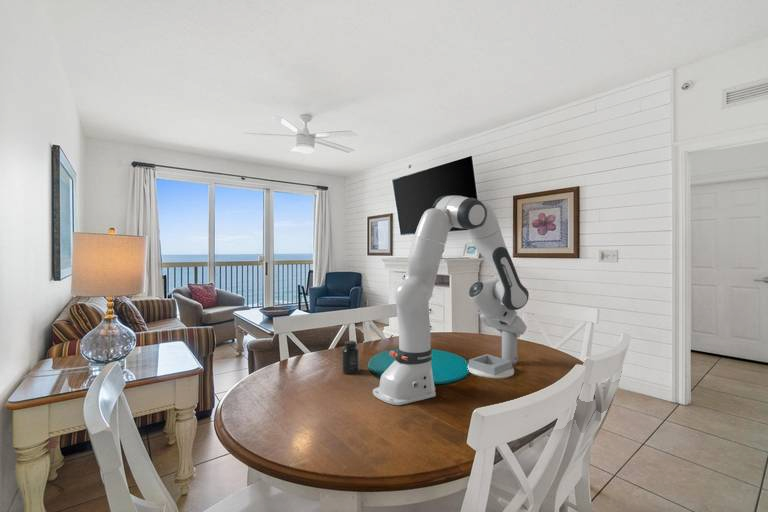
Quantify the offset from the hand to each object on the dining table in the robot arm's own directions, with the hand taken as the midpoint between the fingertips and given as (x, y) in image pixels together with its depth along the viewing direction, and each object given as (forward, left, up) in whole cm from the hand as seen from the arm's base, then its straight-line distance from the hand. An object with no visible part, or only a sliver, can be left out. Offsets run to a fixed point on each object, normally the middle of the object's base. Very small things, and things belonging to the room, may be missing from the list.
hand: (510, 333), depth 152 cm
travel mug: (-1, 0, -13) cm, 13 cm away
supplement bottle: (-59, +35, -13) cm, 70 cm away
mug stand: (-15, 0, -12) cm, 19 cm away
